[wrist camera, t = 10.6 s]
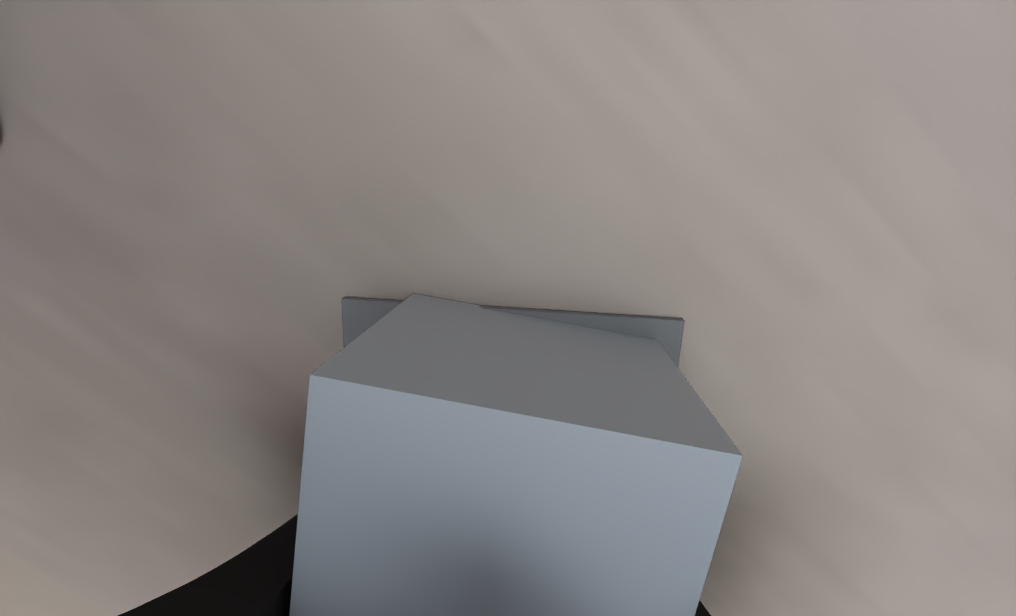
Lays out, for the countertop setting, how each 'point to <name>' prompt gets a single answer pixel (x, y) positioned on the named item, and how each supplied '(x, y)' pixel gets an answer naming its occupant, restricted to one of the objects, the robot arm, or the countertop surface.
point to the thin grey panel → (665, 330)
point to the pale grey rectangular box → (505, 472)
